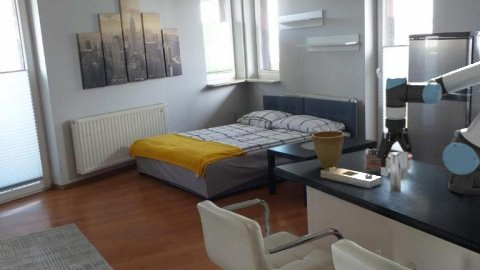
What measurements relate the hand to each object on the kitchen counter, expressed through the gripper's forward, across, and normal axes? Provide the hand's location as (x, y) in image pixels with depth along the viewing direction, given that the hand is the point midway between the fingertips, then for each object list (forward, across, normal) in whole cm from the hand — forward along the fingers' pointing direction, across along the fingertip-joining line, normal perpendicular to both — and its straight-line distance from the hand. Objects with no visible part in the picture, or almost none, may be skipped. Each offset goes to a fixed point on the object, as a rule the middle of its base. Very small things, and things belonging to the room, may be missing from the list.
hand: (394, 171), depth 188 cm
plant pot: (+8, -11, -43) cm, 45 cm away
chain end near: (+8, 0, -17) cm, 18 cm away
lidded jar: (+8, -23, -13) cm, 28 cm away
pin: (+8, 0, 0) cm, 8 cm away
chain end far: (+8, 0, -27) cm, 28 cm away
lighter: (+8, -19, -23) cm, 31 cm away
